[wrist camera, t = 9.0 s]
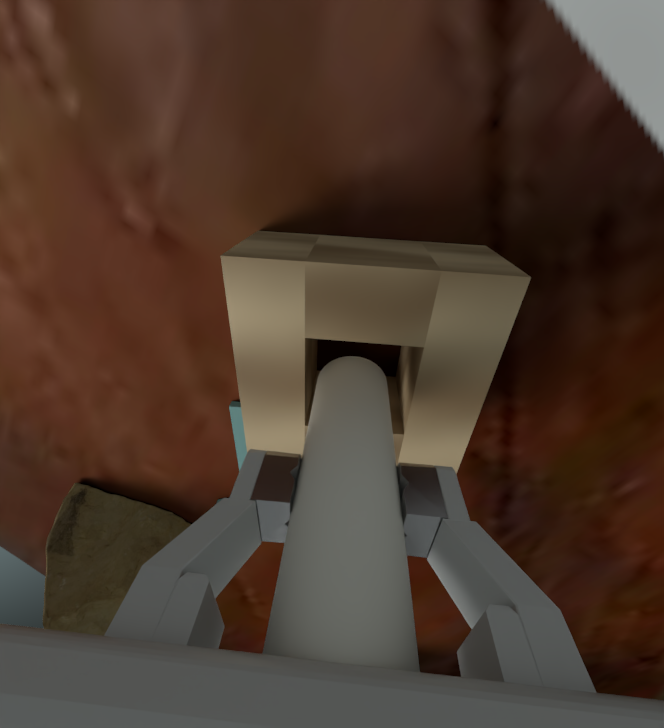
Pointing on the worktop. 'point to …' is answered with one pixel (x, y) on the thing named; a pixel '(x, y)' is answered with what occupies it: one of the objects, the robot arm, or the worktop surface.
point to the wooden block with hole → (369, 331)
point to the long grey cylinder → (346, 533)
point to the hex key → (238, 432)
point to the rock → (99, 556)
